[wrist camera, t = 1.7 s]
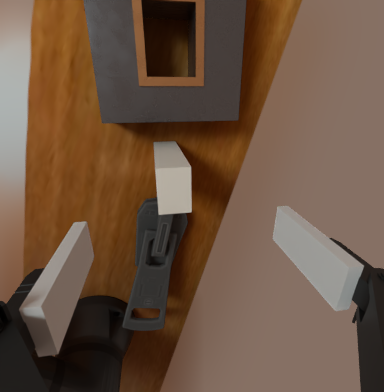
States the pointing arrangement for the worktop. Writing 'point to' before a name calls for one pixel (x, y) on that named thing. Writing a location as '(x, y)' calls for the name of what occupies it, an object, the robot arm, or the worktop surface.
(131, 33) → the block
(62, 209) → the worktop surface
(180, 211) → the white rectangular bar
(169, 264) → the zipper slider
